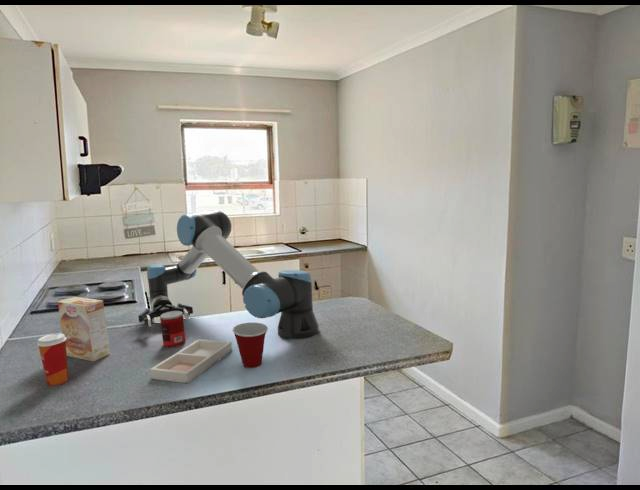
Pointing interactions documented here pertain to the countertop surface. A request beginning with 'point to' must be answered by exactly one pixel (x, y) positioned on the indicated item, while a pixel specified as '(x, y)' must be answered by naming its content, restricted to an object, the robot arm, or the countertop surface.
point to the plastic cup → (250, 342)
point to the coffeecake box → (84, 328)
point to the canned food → (172, 328)
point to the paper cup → (54, 358)
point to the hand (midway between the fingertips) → (169, 319)
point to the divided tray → (191, 361)
